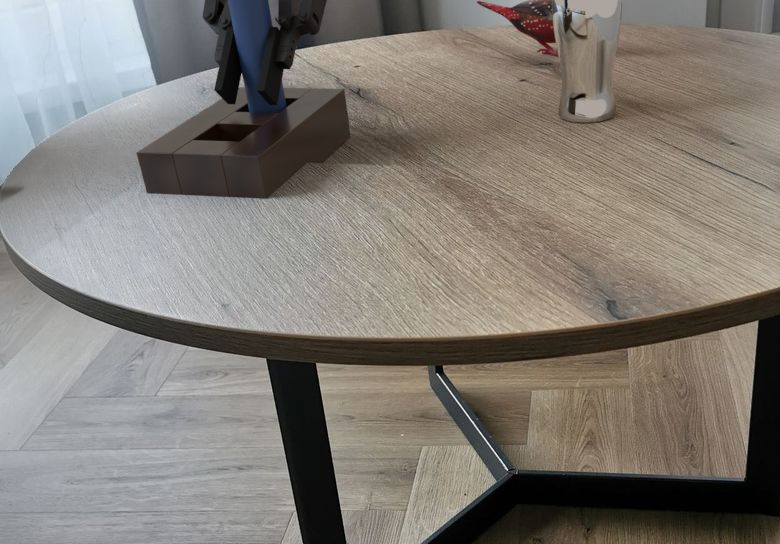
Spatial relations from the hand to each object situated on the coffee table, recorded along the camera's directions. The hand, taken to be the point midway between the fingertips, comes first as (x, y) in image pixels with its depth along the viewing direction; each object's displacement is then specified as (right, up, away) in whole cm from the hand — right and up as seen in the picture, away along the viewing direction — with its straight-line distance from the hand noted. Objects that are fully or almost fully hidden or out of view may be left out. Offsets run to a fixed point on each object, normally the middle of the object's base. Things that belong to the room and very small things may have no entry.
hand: (245, 97), depth 89 cm
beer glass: (+33, +1, +13) cm, 35 cm away
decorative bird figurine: (+29, +14, +35) cm, 47 cm away
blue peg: (+1, -1, +5) cm, 5 cm away
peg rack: (0, -6, +3) cm, 7 cm away
